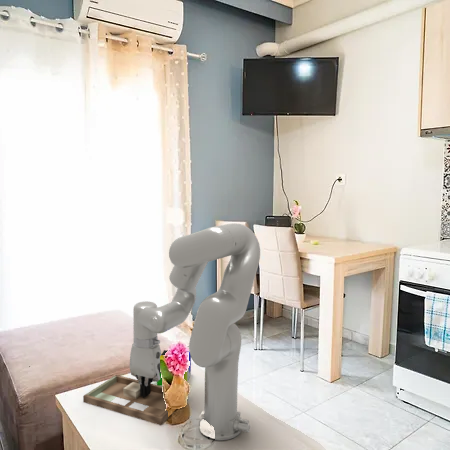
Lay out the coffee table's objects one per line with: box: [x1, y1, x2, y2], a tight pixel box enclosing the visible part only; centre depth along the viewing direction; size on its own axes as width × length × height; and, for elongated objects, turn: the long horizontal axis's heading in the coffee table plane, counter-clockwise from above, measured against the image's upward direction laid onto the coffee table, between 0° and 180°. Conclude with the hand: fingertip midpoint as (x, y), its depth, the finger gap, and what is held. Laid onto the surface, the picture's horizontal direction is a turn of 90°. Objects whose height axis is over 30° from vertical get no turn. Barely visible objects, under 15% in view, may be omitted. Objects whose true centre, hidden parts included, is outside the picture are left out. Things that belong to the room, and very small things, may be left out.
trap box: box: [83, 374, 169, 426], centre depth 130 cm, size 29×16×4 cm, turn 66°
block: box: [124, 382, 140, 399], centre depth 133 cm, size 5×5×2 cm
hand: (145, 395), depth 132 cm, fingers closed
